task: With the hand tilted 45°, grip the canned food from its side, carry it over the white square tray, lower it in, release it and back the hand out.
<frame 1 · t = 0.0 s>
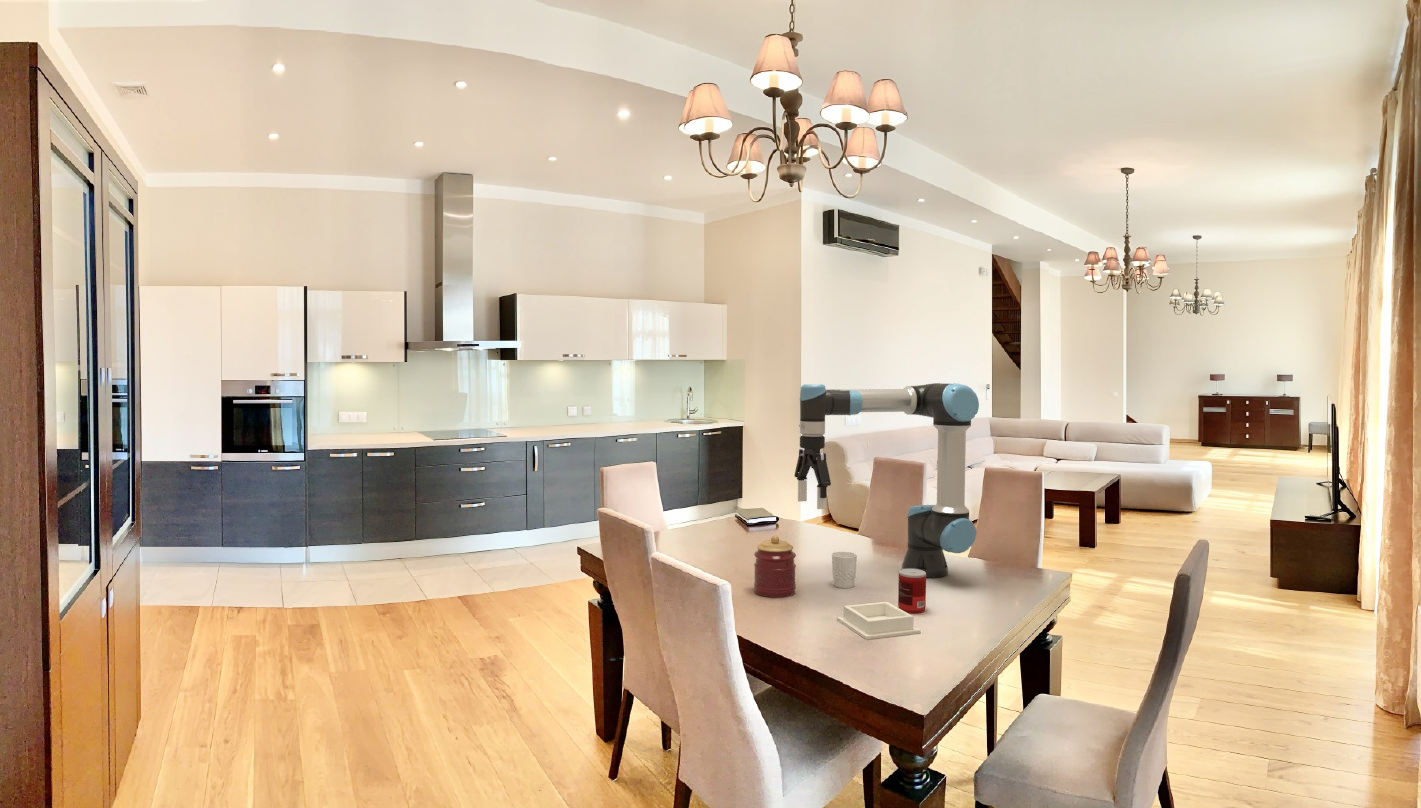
hand: (811, 504, 231), 28 cm above the table, tool pointing down, fingers open, 13 cm apart
canned food: (911, 610, 220), on the table
canister: (774, 592, 237), on the table
white square tray: (877, 626, 205), on the table
white cup: (843, 585, 244), on the table
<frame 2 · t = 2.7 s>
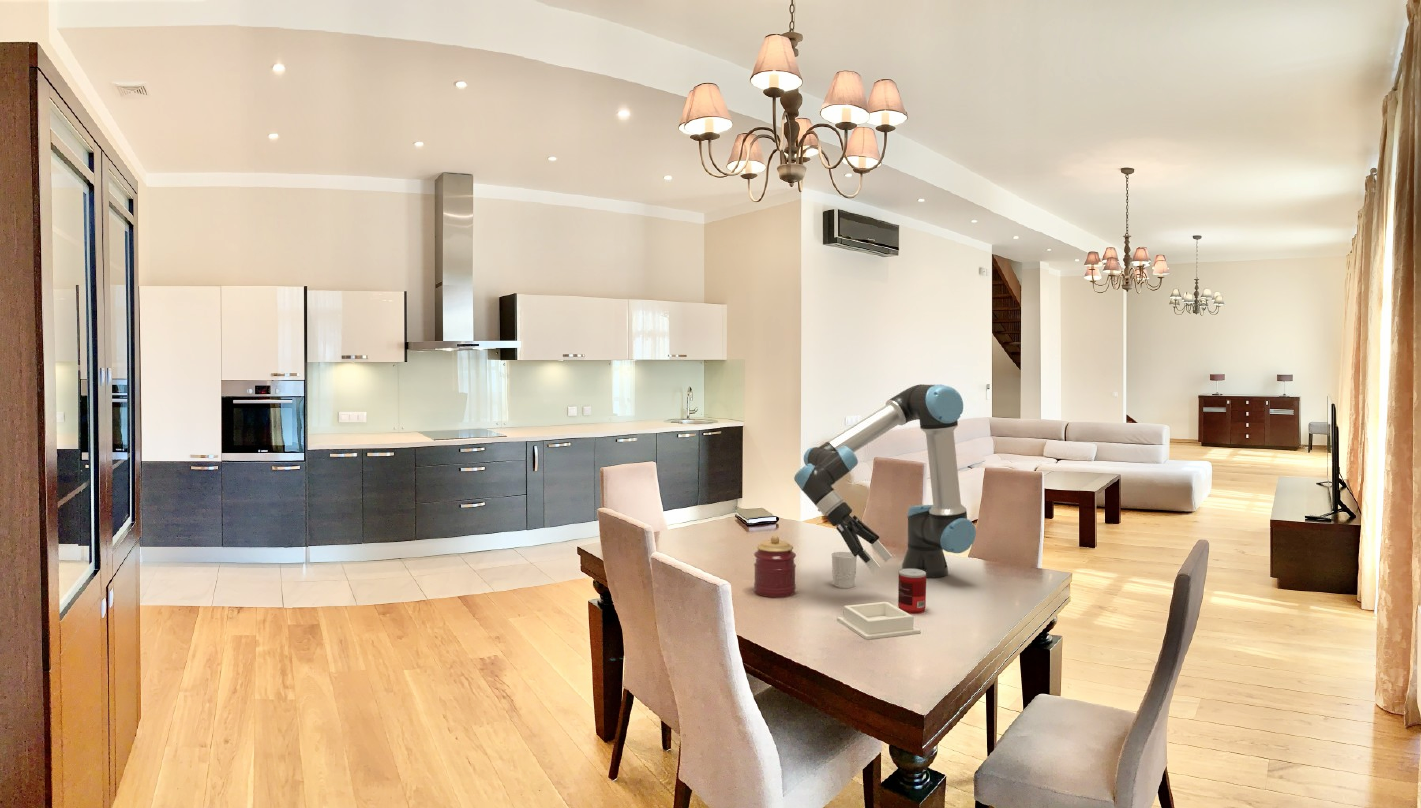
hand: (883, 564, 222), 12 cm above the table, tool tilted 45°, fingers open, 13 cm apart
nothing on the table moved.
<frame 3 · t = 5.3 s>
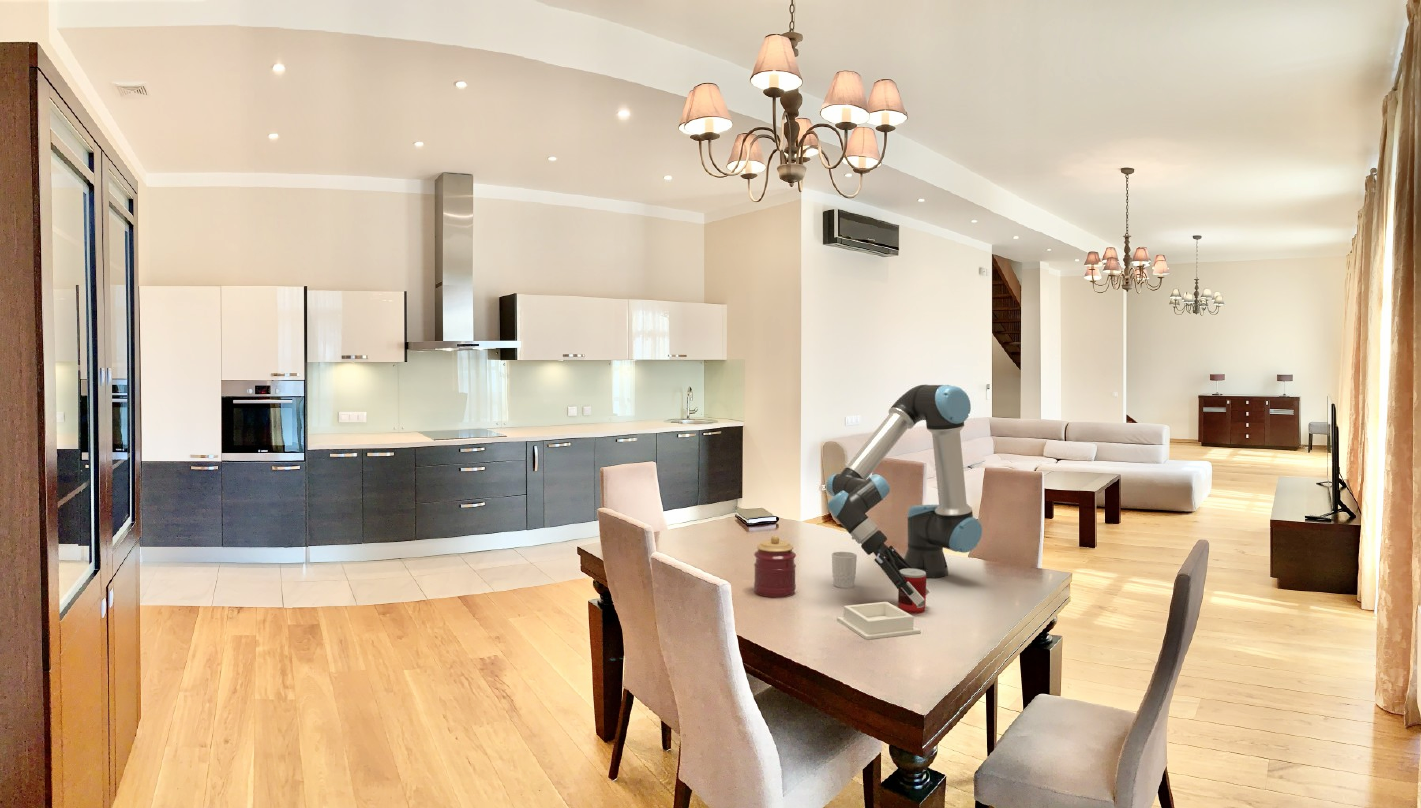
hand: (923, 598, 218), 4 cm above the table, tool tilted 45°, fingers closed on canned food, 8 cm apart
canned food: (911, 610, 220), on the table, touching gripper
everything else where it was.
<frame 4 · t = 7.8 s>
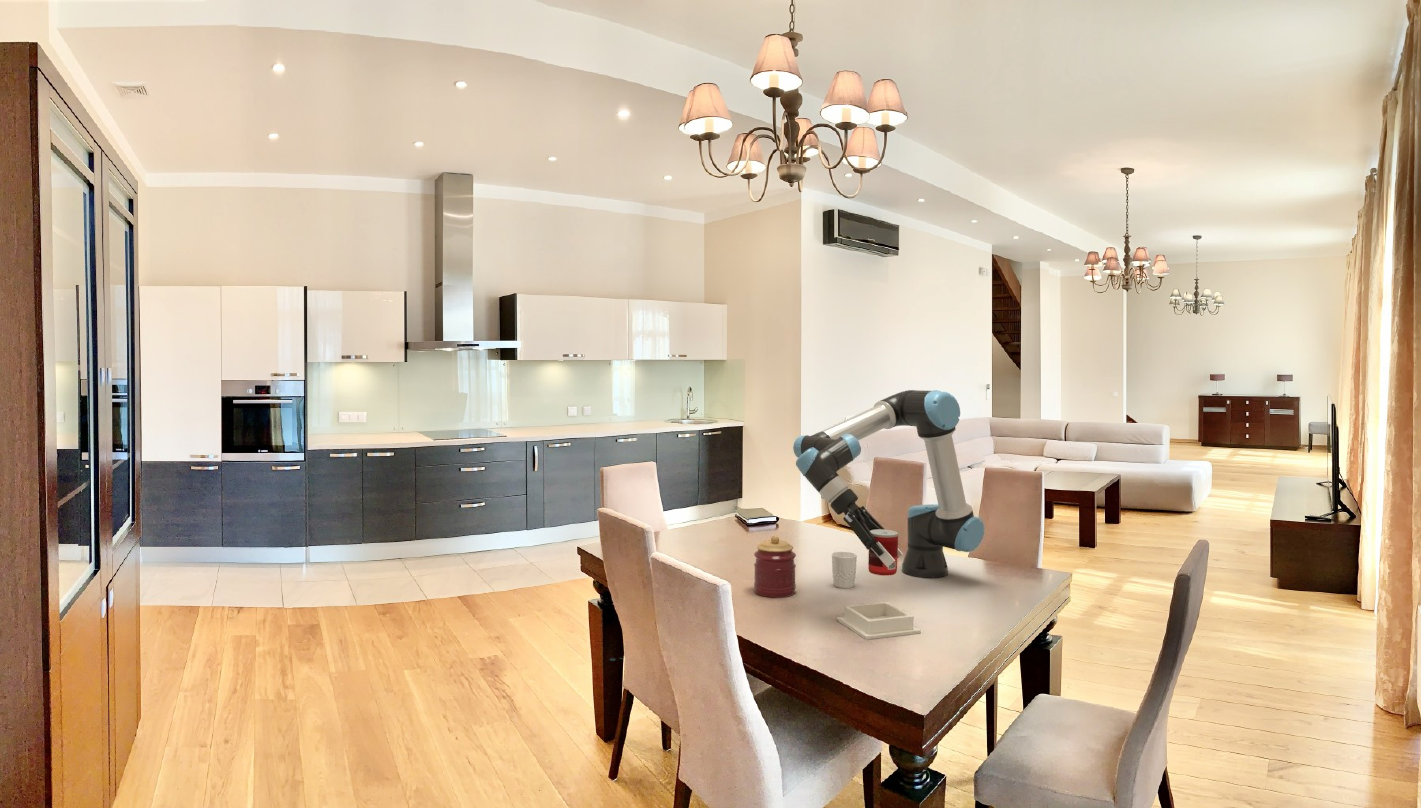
hand: (895, 560, 206), 18 cm above the table, tool tilted 45°, fingers closed on canned food, 8 cm apart
canned food: (882, 572, 207), point 14 cm above the table, touching gripper
everything else where it was.
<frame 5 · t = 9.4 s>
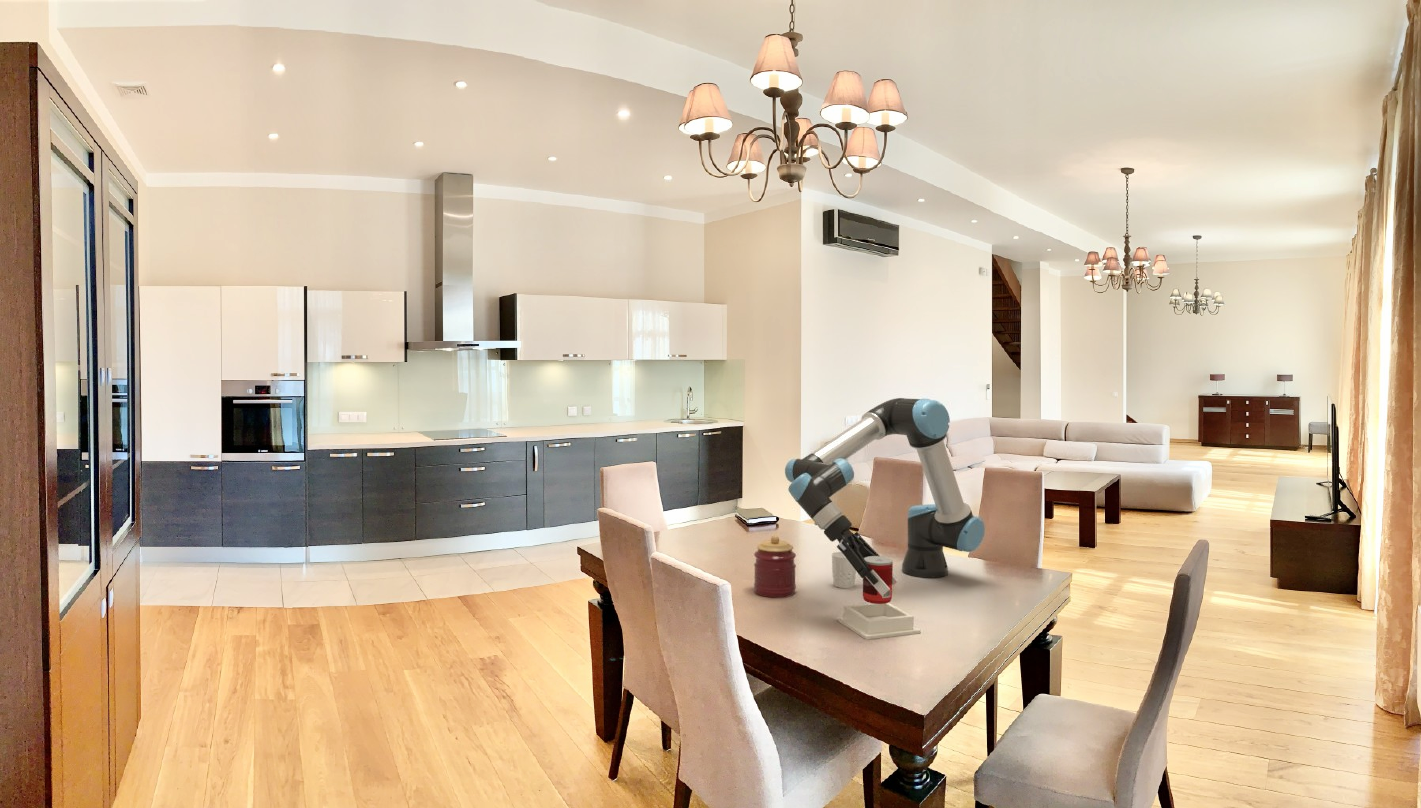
hand: (890, 588, 203), 11 cm above the table, tool tilted 45°, fingers closed on canned food, 8 cm apart
canned food: (877, 600, 204), point 7 cm above the table, touching gripper
everything else where it was.
when the fingers open (7 cm above the table, at t = 10.7 s): canned food drops 3 cm, resting on white square tray.
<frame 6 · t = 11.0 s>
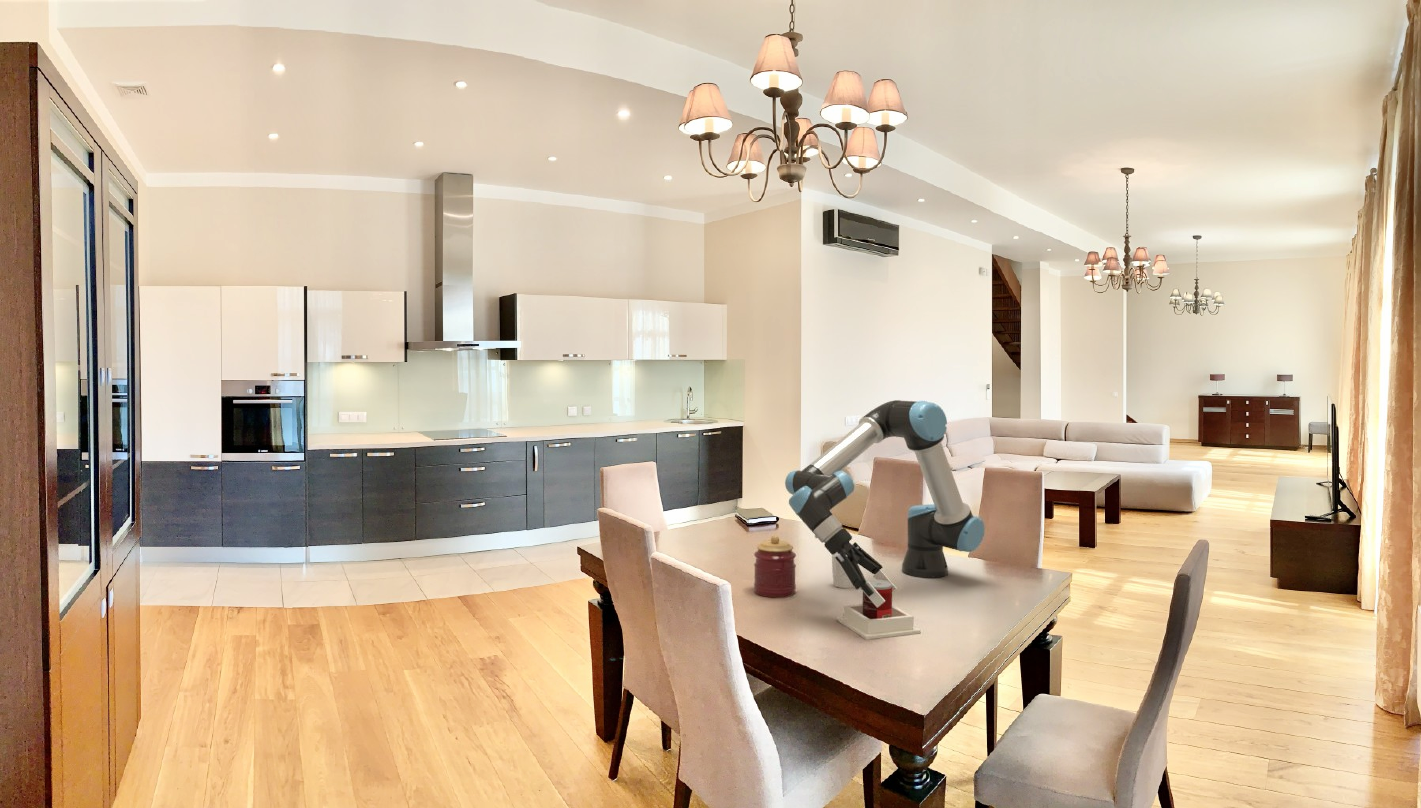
hand: (887, 597, 203), 8 cm above the table, tool tilted 45°, fingers open, 12 cm apart
canned food: (876, 624, 205), point 1 cm above the table, touching white square tray
everything else where it was.
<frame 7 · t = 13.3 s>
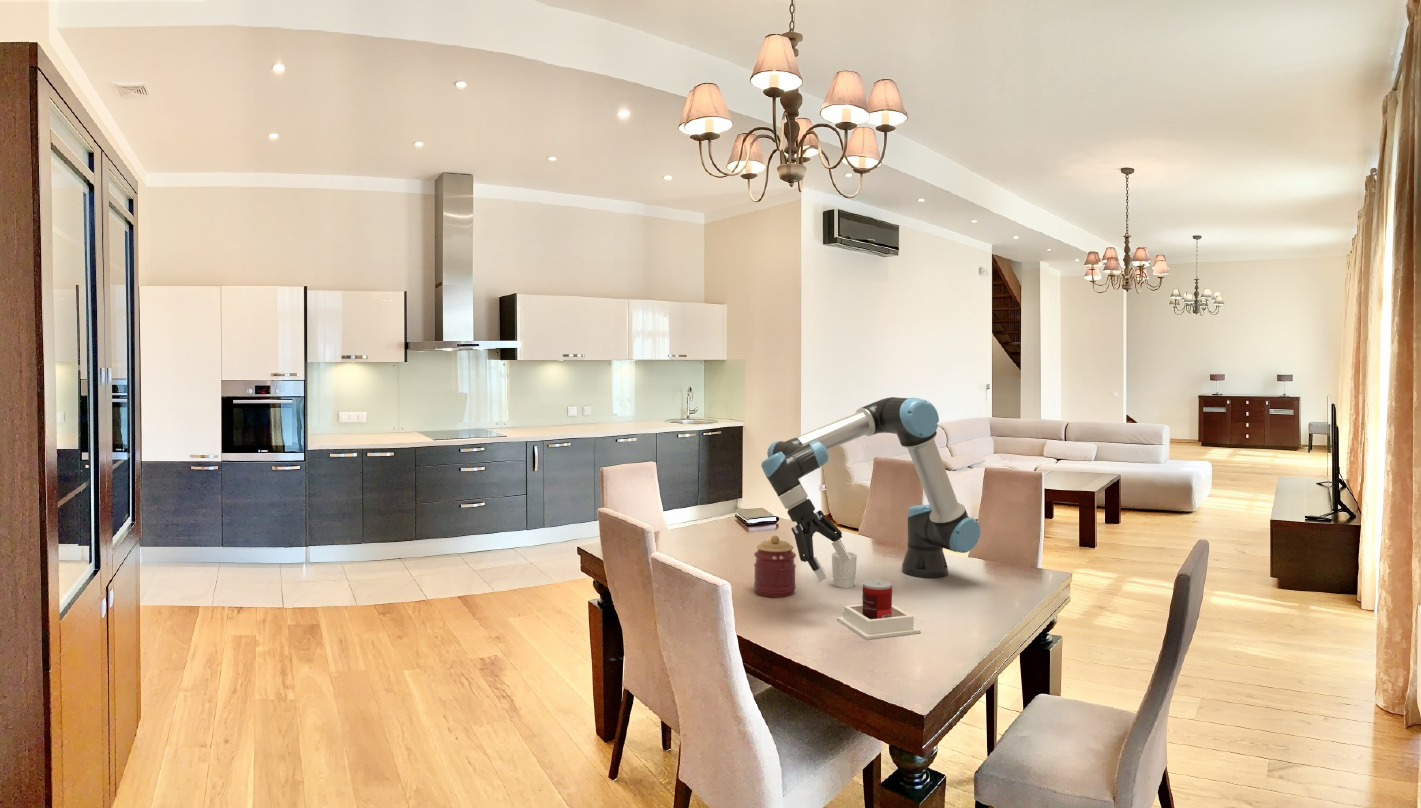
hand: (836, 570, 214), 13 cm above the table, tool tilted 30°, fingers open, 13 cm apart
nothing on the table moved.
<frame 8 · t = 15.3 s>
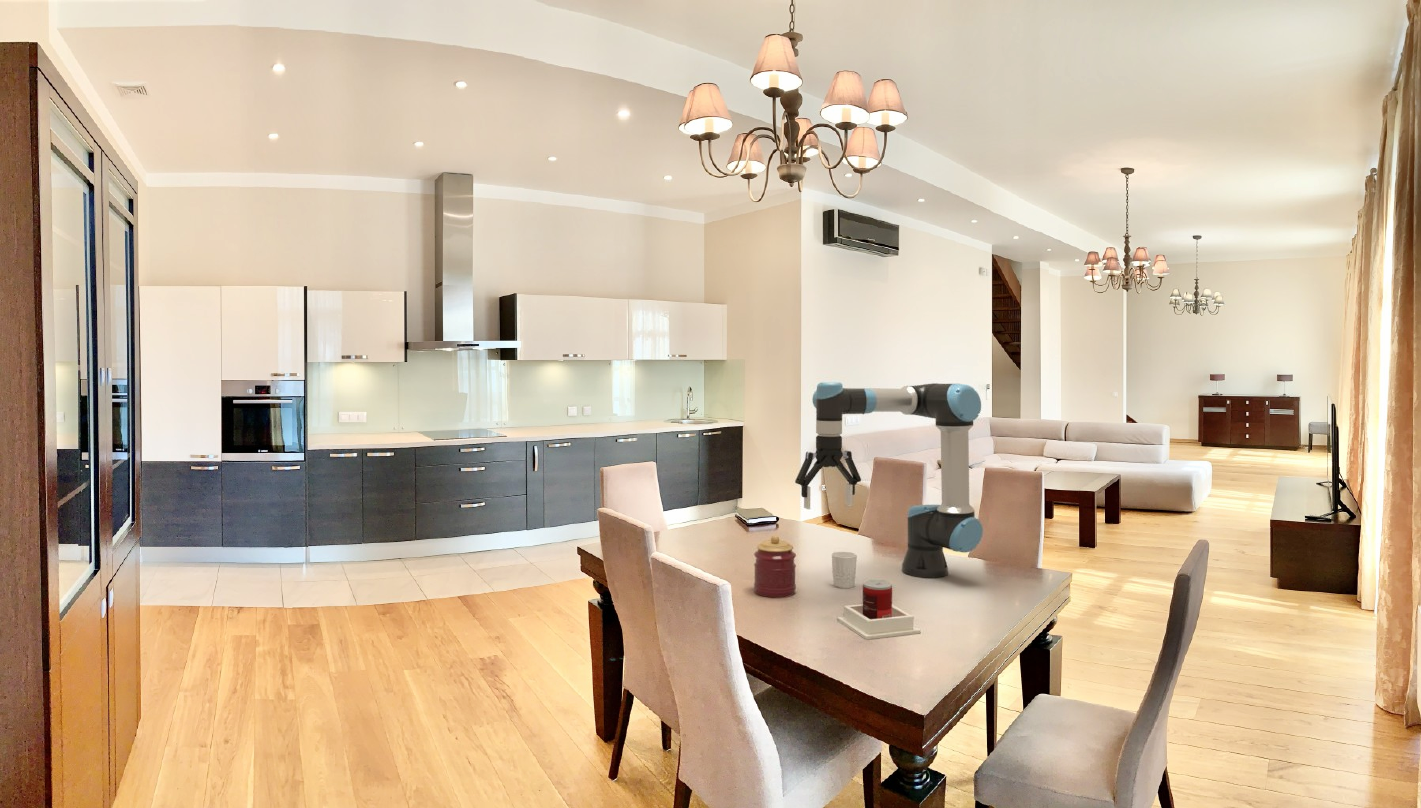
hand: (828, 507, 223), 29 cm above the table, tool pointing down, fingers open, 13 cm apart
nothing on the table moved.
at the end: canned food 0.3 cm off-centre on the white square tray, point 0.6 cm above the white square tray's base; canned food tilted 0°; the gripper is holding nothing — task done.
